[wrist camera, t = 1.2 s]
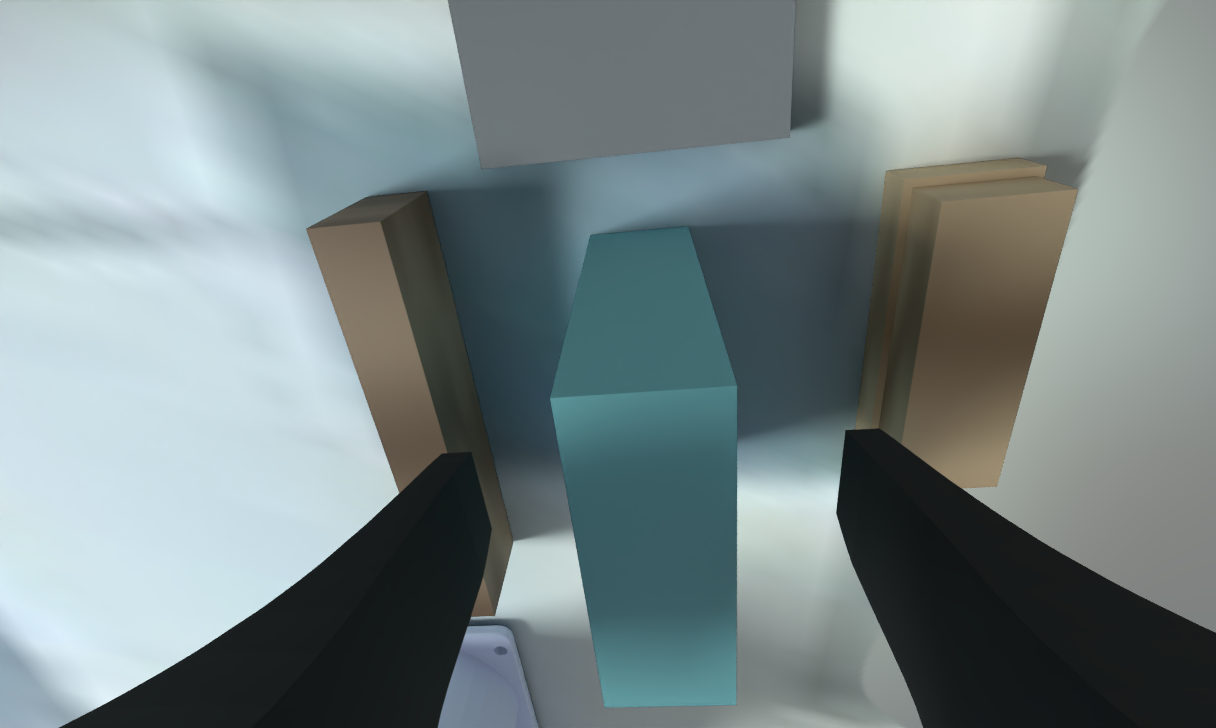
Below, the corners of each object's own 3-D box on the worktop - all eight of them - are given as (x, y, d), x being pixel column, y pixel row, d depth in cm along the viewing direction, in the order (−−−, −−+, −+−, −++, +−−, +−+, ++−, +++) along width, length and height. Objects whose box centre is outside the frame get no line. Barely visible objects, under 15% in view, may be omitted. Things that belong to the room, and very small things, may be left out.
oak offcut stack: (946, 456, 18) (995, 520, 16) (847, 462, 18) (880, 525, 16) (1010, 155, 14) (1091, 178, 11) (880, 168, 14) (933, 192, 12)
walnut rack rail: (513, 541, 20) (494, 615, 17) (468, 543, 20) (443, 617, 17) (426, 191, 14) (380, 221, 12) (366, 197, 15) (306, 229, 12)
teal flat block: (696, 448, 18) (736, 704, 11) (616, 453, 18) (604, 707, 11) (687, 225, 15) (737, 386, 8) (590, 234, 15) (549, 398, 8)
